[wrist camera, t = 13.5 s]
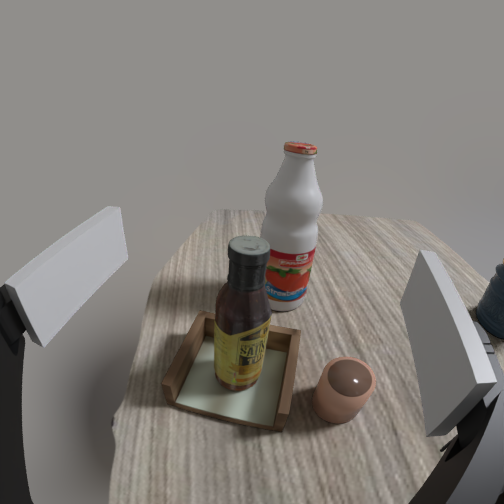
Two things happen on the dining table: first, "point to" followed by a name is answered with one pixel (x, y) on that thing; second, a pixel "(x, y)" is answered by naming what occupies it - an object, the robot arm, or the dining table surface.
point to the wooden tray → (228, 401)
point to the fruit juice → (291, 226)
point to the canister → (493, 304)
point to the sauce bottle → (242, 315)
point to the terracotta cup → (343, 389)
